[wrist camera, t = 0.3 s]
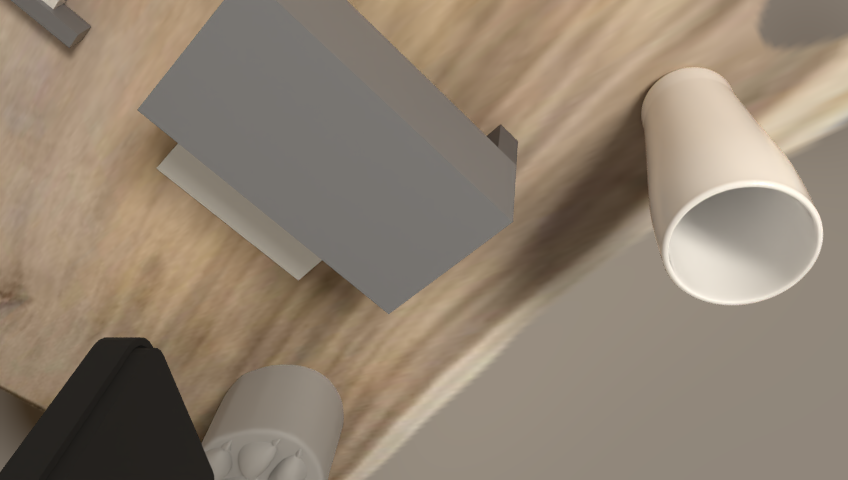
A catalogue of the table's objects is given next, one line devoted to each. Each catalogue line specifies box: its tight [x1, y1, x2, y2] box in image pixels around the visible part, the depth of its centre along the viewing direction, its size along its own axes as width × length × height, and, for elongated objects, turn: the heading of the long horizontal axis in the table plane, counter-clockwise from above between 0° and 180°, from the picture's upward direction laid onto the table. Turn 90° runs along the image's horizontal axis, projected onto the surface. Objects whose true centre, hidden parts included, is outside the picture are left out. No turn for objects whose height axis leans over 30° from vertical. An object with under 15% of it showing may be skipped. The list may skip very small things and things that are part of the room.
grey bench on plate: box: [138, 0, 518, 314], centre depth 42 cm, size 18×10×10 cm, turn 46°
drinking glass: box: [641, 67, 823, 305], centre depth 38 cm, size 7×7×15 cm
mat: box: [156, 144, 322, 280], centre depth 49 cm, size 13×18×1 cm
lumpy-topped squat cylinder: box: [201, 365, 344, 480], centre depth 61 cm, size 10×13×9 cm
